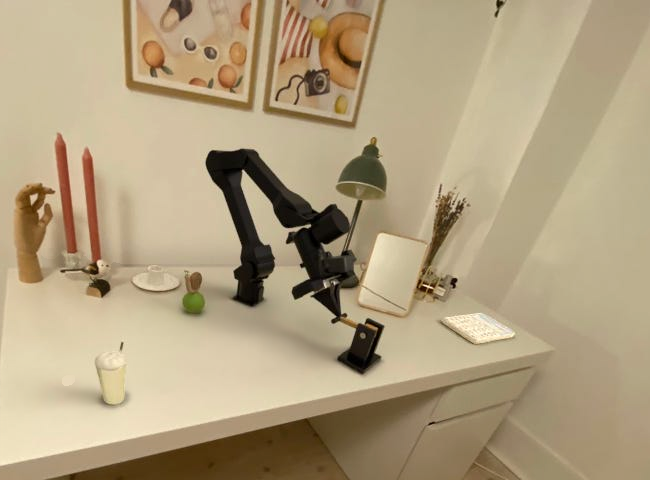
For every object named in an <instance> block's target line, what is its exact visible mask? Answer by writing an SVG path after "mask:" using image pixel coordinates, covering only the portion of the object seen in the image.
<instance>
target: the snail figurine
mask: <svg viewBox="0 0 650 480" xmlns="http://www.w3.org/2000/svg"><path fill="white" fill-rule="evenodd" d="M183 271H184V273H185V274H184V280H185V281H184V282H185V288H186V291H187V292H186V293H185V294H184V295H183V297H182V300H181V301H182V302H181V303H182V306H183V308H184V309H185V310H186V311H187V312H188V313H191V314H197V313H200V312H202V311H203V309H204V308H205V306H206V299H205V297H204V295H203V294H202V293H201V292H199V291H200V289H201V285H202V282H203V275H202V273H201V272H199V271H195V272H193V273H191V275H190V270H187V269H184V270H183Z"/></svg>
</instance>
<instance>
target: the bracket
mask: <svg viewBox="0 0 650 480" xmlns="http://www.w3.org/2000/svg"><path fill="white" fill-rule="evenodd" d="M357 323H358V325H357V328H356V329H355V331H354V334H353V337H352V340H351V344H350V346H349V348H348V349H347V350H345V351H344V352H342V353H341V354H339V355H338V356H337V361H338V362H340V363H342V364H344V365H345V366H346V367H348V368H351V369H352V370H354V371H355V372H357V373H359V374H361V375H364V374H365V373H366V372H368V371H369V370H370V369H371V368H373V367H374V366H375V365H377V364H378V363H380V361H381V360H382V355H380V354H379V353H376V351H377V348H378V345H379V343H380V341H381V338H382V334H383V332H384V330H385V325H384V324H382V323H380V322H378V321H376V320H374V319H372V318H369V317H366V319H365V321H364V323H361V322H357ZM367 323H368V324H370V325H372V326H374V327H377V328H378V330H377V331H376V330H374V329H372V328H370V327H368V326H366V325H365V324H367ZM376 332H377V333H376ZM375 335H376V336H375Z"/></svg>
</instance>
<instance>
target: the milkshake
mask: <svg viewBox="0 0 650 480" xmlns="http://www.w3.org/2000/svg"><path fill="white" fill-rule="evenodd" d="M124 343H125V342H124V341H120V345H119V351H114V350H107V351H104V352H102V353H99V354H98V355H97V356H96V357H95V358H94V365H95V366H94V367H95V369H96V374H97V377H98V381H99V386H100V390H101V393H102V398H103V401H104V402H105V404H107V405H113V406H115V405H118V404H121V403H123V402H124V401H125V393H126V392H125V389H126V388H125V386H126V385H125V383H126V380H125V379H126V365H127V358H126V356H125V355H124V354H123V353H122V352H123V348H124V345H125V344H124Z"/></svg>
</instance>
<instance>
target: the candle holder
mask: <svg viewBox="0 0 650 480" xmlns="http://www.w3.org/2000/svg"><path fill="white" fill-rule="evenodd" d="M132 282H133V284H134V285H135V286H136V287H138V288H141V289H144V290H148V291H153V292H155V291H156V292H164V291H170V290H173V289H175V288H177V287H179V286H180V283H181V282H180V280H179V279H178V278H177V277H176V276H175V275H172V274H170V273H166V272H165V268H164V267H163V266H160V265H154V264H153V265H149V266H148V267H147V272H141V273H138V274H136V275H134V277H132Z"/></svg>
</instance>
